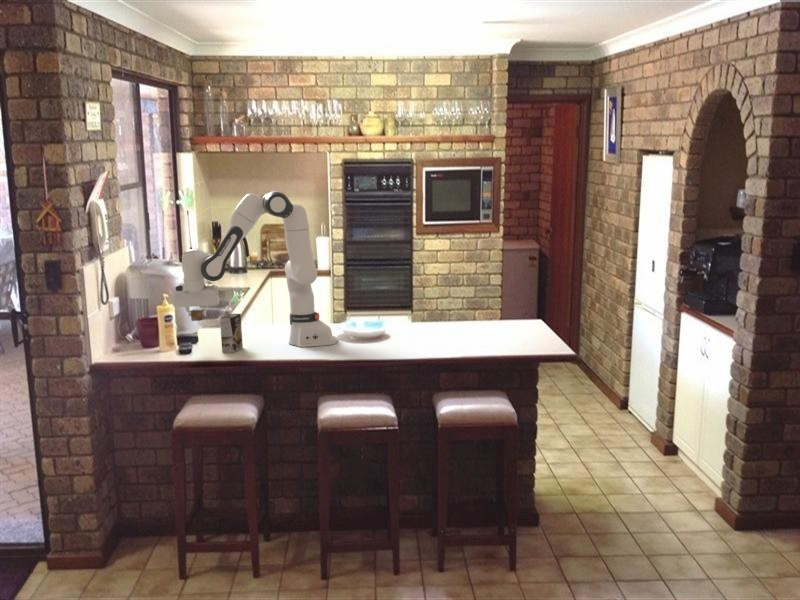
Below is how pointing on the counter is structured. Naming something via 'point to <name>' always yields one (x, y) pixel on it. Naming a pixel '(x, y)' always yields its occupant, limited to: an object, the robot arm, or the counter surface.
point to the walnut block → (196, 315)
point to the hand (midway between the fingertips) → (197, 315)
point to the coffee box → (231, 333)
